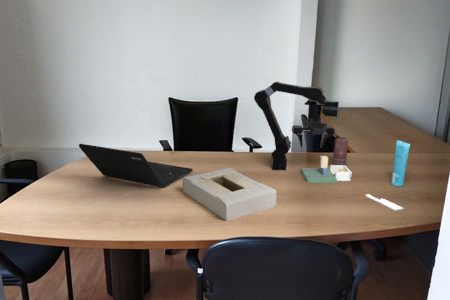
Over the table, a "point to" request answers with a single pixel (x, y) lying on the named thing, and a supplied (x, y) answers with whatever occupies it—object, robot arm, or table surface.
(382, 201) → the white plastic strip tool
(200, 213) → the table surface
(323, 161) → the beige and blue block
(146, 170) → the laptop
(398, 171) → the tube
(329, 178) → the panel
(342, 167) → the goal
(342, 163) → the can
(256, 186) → the box
